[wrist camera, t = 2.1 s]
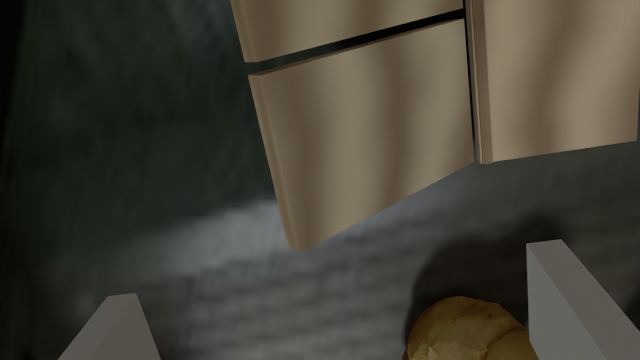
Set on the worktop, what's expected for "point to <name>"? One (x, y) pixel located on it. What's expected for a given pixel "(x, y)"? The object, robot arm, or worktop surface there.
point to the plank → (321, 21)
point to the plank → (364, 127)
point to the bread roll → (468, 333)
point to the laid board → (552, 75)
